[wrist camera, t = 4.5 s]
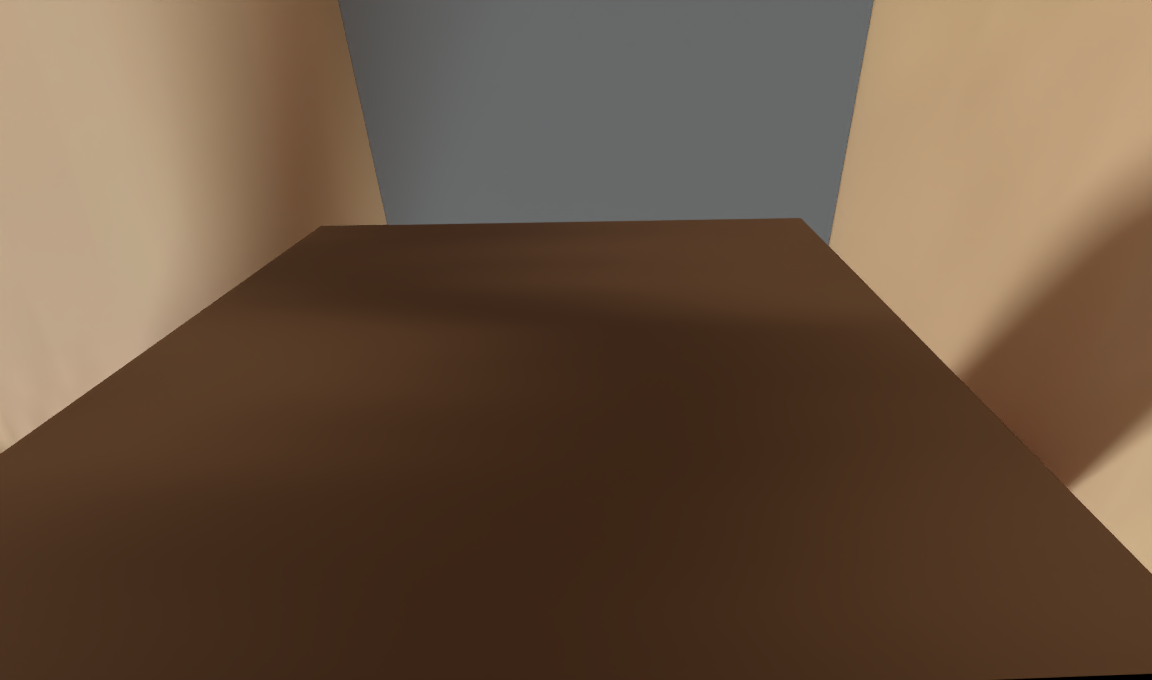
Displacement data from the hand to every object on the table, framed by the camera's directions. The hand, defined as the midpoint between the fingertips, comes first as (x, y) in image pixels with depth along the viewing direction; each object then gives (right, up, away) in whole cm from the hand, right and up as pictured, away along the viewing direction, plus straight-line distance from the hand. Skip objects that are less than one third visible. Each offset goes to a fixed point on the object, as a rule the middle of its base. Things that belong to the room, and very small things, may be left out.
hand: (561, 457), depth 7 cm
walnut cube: (0, 0, +1) cm, 1 cm away
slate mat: (+1, +9, +9) cm, 12 cm away
